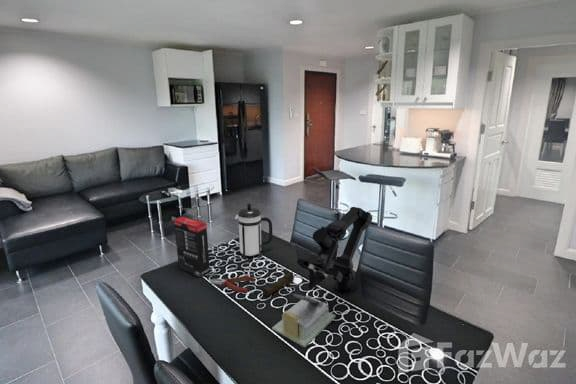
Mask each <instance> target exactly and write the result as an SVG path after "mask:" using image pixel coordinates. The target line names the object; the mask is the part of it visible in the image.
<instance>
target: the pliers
mask: <svg viewBox="0 0 576 384" xmlns="http://www.w3.org/2000/svg"><path fill="white" fill-rule="evenodd" d="M254 281H255V278H254V277H252V276H246V275H244V276H238V277H237V276H236V277H232V278H229V277H226V279H224V278H211V281H209V283H210V284H215V285H220V286H221V285H222V288H225V287H227V288H229V289H230V288H231V289H230V290H232V291H233V292H237V293H241V294H242V293H244V294H247V293H248V292H249V290H248V288H247V287H241V286H237V285H235V283H238V282H254ZM232 282H233V283H232Z"/></svg>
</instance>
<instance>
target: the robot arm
mask: <svg viewBox="0 0 576 384" xmlns="http://www.w3.org/2000/svg"><path fill="white" fill-rule="evenodd" d="M372 221H373V215H372V213H371V212H368V211H366V210H364V209H363V208H361V207H357V206H356V207H355V206H351V207H350V208H349V210H348V211H347V212H346V213H345V214H344V215H343V216H342V217H341V218H340V219H339V220H335V221H331V222H330V223H329V224H328V225H327V226H321V227H320V228H318V229H316V230H315V231H314V232H313V234H312V240H313V241H314V242H315V244H316V245H318V247H319V250H317V251H316V252H315V253H313V252H308V256H307V258H304V257H301V256H300V257H298V258H297V259H296V260H295V263H296V264H297V265H298V266H299V267H300V268H302V269H305V270H306V271H308V272H309V274H308V275H309V280H308V290H309V291H312V290H313V289H314V288H315V287H317V286H318V285H319V284H320V283H321V282H323V281H324V280H327V279H328V276H330V277H332V279H333V280H334V281H335V283H334V285H333V286H334V288H335V289H336V290H337V291H338V293H340V294H344V293H348V292H352V291H354V289H353V288H352V281H354V280H355V278H356V271H355V270H354V263H353V258H354V255H355V254H356V250H357V249H358V245H359V242H360V240H361V238H362V234H363V232H364V231H365V230H366V229H368V228H369V227H370V224H371V223H372ZM351 225H352V228H351V232H350V234H349V236H348V239H347V242H346V244H345V246H344V249H343V251H342V254H341V255H339V256H337V257H336V258H335V261H334V263H333V256H334V253H335V252H336V250H337V249H339V244H338V241H342V240H343V239H345V237H346V235H347V230H348V229H349V228H350V227H351ZM337 240H338V241H337ZM330 263H333V264H332V266H331V267H330V268H328V267H329V265H330Z"/></svg>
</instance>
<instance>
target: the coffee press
mask: <svg viewBox="0 0 576 384" xmlns="http://www.w3.org/2000/svg"><path fill="white" fill-rule="evenodd" d="M261 216H262V211H261V209H260V208H258V206H252V204H251V203H250V202H249V203H247V205H246V206H243V207H241V208H239V210H238V212H237V213H236V215H235V218H234V219H235V220H237V221H238V222H237V223H238V235H239V239H238V240H239V253H240V254H241V255H242V257H241V259H242V260H245V259H246V258H247V256H248V257H252V256H256V255H257V256H258V257H259V258H261V257H263V253H262V252H261V251H262V246H265V245H269V244H270V243H271V242H272V240H273V223H272V220H271V219H270V218H268V217H266V216H264V217H261ZM262 222H267V223H268V239H267V240H265V241H262V226H261V225H262V224H261V223H262ZM260 256H261V257H260ZM244 258H245V259H244Z"/></svg>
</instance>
